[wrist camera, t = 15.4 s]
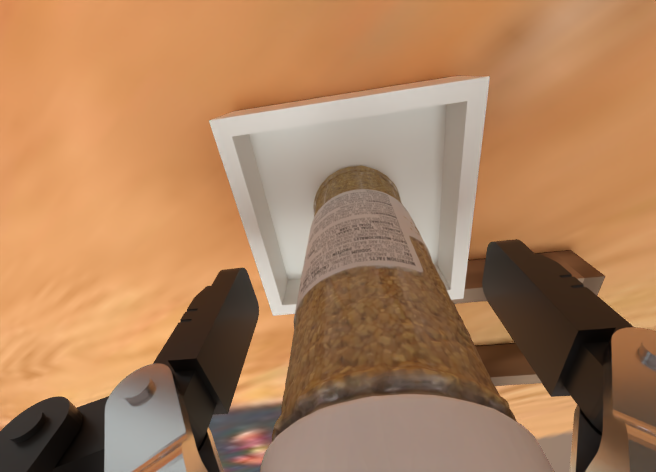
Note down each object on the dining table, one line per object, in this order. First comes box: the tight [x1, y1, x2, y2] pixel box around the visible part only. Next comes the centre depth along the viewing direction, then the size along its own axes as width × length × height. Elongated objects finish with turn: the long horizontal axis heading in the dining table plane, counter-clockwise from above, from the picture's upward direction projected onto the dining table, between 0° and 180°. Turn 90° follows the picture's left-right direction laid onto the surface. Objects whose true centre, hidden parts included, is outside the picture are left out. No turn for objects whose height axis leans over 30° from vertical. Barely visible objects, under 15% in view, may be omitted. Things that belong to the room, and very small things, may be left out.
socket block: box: [452, 250, 605, 386], centre depth 18 cm, size 9×9×2 cm
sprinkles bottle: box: [260, 166, 555, 472], centre depth 9 cm, size 5×5×13 cm
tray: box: [209, 76, 490, 316], centre depth 14 cm, size 10×10×3 cm
